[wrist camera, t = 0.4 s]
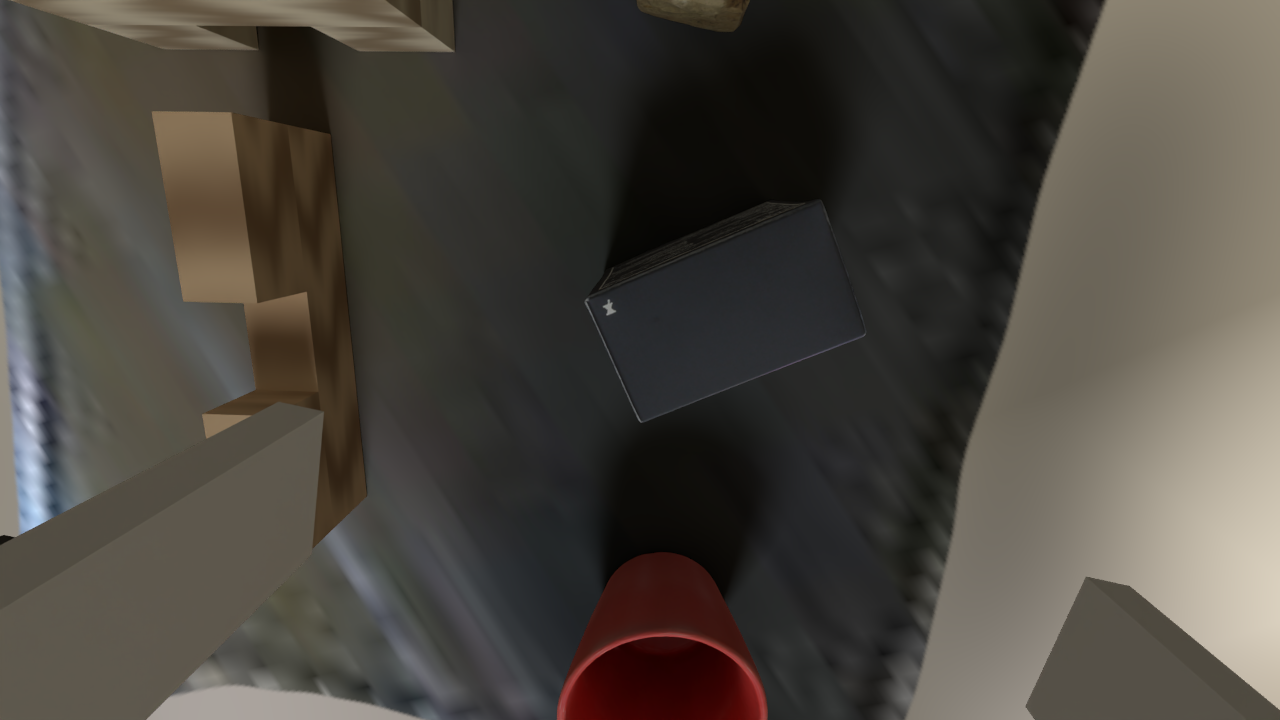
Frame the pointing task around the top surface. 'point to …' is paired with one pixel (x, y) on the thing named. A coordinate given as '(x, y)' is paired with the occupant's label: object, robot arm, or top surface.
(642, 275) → the small box
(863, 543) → the top surface
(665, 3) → the stone block
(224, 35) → the beige wooden slab
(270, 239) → the oak board
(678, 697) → the flower pot
